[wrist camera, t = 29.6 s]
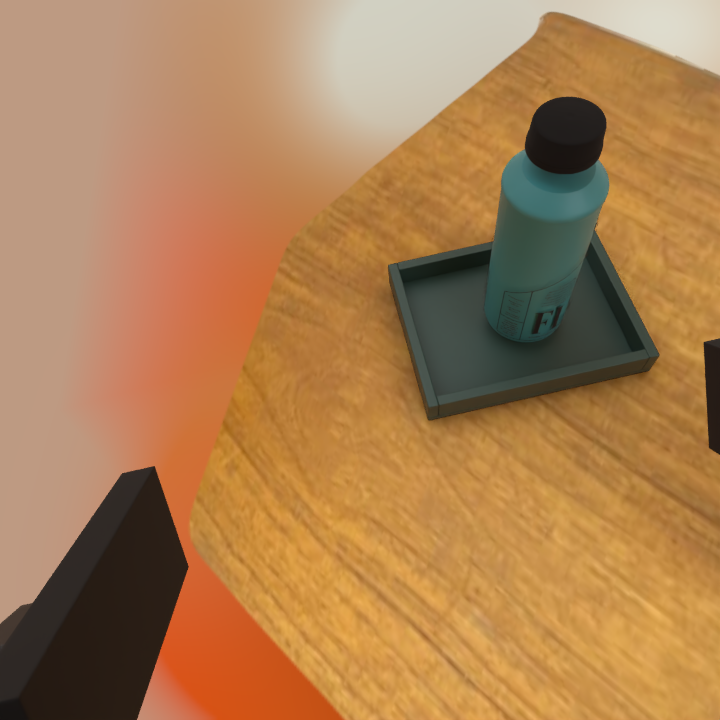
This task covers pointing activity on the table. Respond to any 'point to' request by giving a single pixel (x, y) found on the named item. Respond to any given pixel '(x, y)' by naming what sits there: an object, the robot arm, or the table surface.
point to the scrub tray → (504, 356)
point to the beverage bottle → (546, 219)
